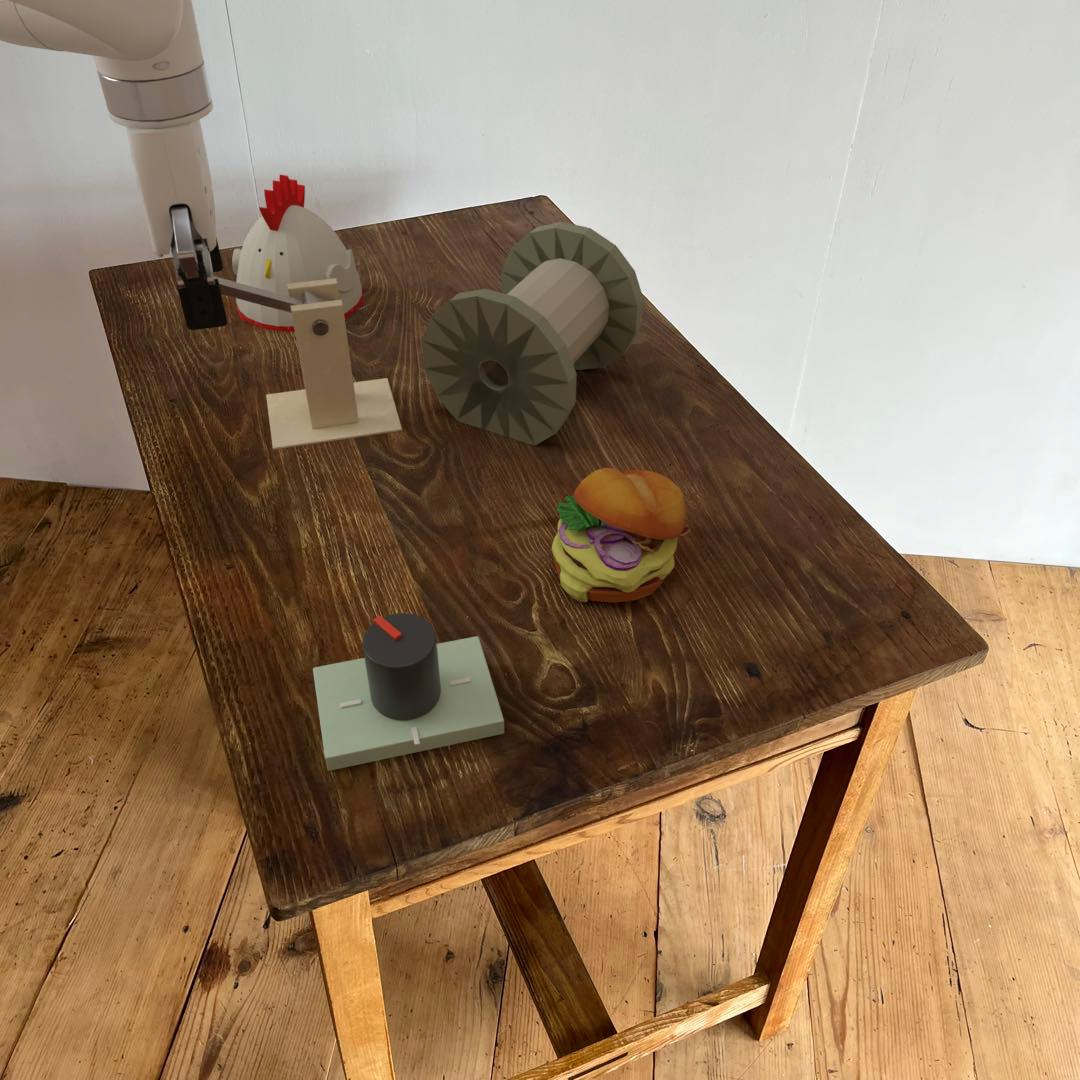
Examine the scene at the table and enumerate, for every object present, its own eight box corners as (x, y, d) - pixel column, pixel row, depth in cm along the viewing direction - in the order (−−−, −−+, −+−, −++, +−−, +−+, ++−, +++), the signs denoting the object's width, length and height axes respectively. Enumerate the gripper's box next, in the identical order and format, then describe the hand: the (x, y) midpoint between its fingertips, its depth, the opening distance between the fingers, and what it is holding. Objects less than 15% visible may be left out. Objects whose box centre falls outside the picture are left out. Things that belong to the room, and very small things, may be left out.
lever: (190, 305, 84) (197, 280, 83) (189, 277, 88) (196, 252, 87) (331, 341, 90) (339, 318, 89) (325, 314, 93) (333, 291, 92)
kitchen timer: (215, 328, 111) (184, 196, 101) (275, 271, 121) (252, 145, 111) (331, 348, 108) (311, 214, 98) (383, 288, 118) (369, 161, 108)
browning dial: (455, 693, 70) (451, 636, 66) (400, 732, 67) (393, 676, 63) (410, 655, 72) (404, 598, 68) (356, 692, 70) (346, 635, 66)
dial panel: (331, 791, 67) (325, 763, 65) (317, 689, 74) (311, 660, 72) (506, 753, 70) (506, 725, 68) (478, 657, 76) (477, 629, 74)
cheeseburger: (518, 571, 83) (538, 463, 78) (600, 534, 90) (624, 434, 85) (611, 633, 78) (639, 523, 73) (691, 589, 85) (722, 486, 80)
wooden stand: (274, 459, 94) (247, 328, 85) (268, 405, 100) (241, 278, 91) (403, 439, 96) (390, 310, 87) (388, 388, 103) (374, 262, 94)
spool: (509, 341, 110) (507, 208, 100) (637, 377, 105) (648, 241, 95) (428, 420, 99) (417, 280, 89) (566, 465, 94) (571, 321, 84)
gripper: (109, 58, 81) (161, 257, 92) (98, 138, 68) (160, 356, 80) (206, 51, 82) (245, 248, 94) (212, 128, 70) (257, 344, 81)
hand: (206, 298), depth 87 cm, fingers open, 9 cm apart
